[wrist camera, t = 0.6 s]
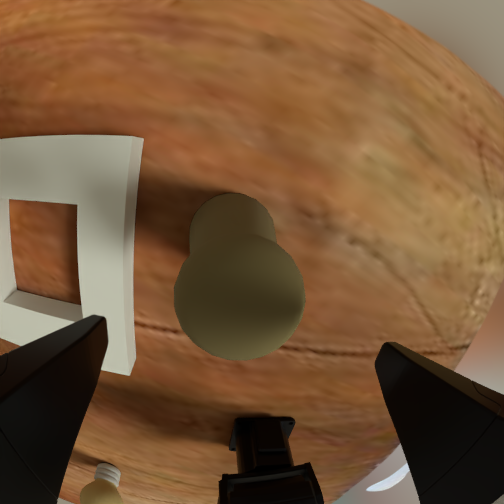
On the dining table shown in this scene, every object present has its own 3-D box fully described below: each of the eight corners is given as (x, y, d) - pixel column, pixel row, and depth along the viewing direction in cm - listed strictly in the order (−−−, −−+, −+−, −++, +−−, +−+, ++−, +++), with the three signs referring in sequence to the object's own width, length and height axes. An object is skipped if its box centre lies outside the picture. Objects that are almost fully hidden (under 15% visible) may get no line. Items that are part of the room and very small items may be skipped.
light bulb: (118, 479, 31) (109, 527, 21) (84, 460, 29) (70, 510, 19) (137, 471, 30) (129, 526, 20) (99, 452, 28) (85, 508, 18)
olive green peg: (257, 179, 19) (298, 206, 9) (286, 257, 21) (341, 349, 11) (175, 213, 19) (124, 277, 9) (210, 287, 21) (202, 398, 11)
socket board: (136, 357, 23) (129, 375, 20) (3, 322, 20) (-9, 334, 18) (143, 138, 17) (132, 136, 15) (-12, 141, 15) (-29, 142, 13)
